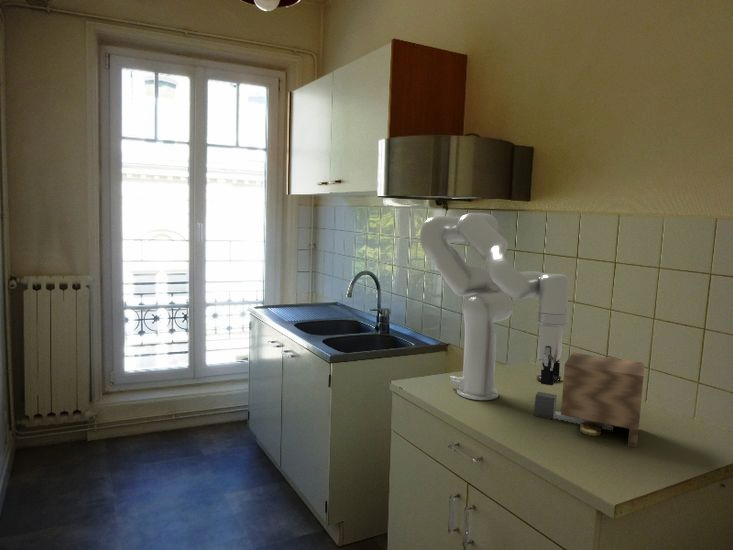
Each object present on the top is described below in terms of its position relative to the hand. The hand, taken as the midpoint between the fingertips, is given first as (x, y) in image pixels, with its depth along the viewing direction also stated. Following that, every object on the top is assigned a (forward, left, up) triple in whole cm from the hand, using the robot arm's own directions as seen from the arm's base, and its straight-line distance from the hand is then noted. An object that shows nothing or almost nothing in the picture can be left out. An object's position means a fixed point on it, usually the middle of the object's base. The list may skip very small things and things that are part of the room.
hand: (550, 380), depth 149 cm
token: (+12, -5, -11) cm, 17 cm away
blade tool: (+7, 0, -11) cm, 12 cm away
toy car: (-7, +34, -11) cm, 36 cm away
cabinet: (+14, -2, -11) cm, 17 cm away
